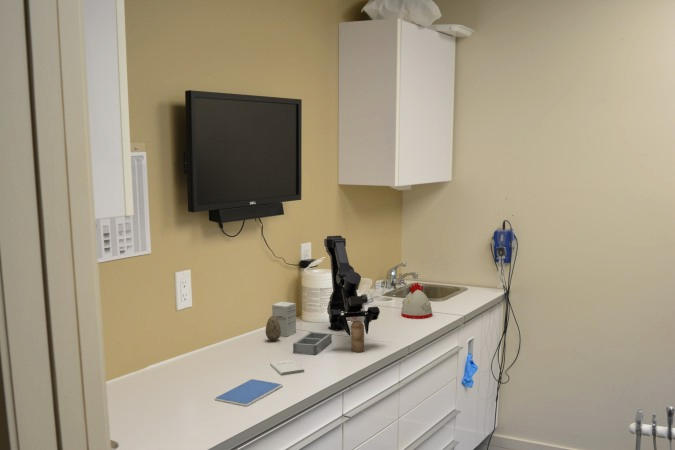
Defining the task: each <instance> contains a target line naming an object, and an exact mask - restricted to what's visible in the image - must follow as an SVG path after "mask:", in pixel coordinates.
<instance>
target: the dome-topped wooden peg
mask: <svg viewBox="0 0 675 450" xmlns="http://www.w3.org/2000/svg"><path fill="white" fill-rule="evenodd" d="M350 343H351V344H350V345H351V347H350V349H351V350H350V351H351V352H352V353H355V352H356V354H357V353H363V352H364V351H365V326H364V322H361V321H354V322H351V324H350Z"/></svg>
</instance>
